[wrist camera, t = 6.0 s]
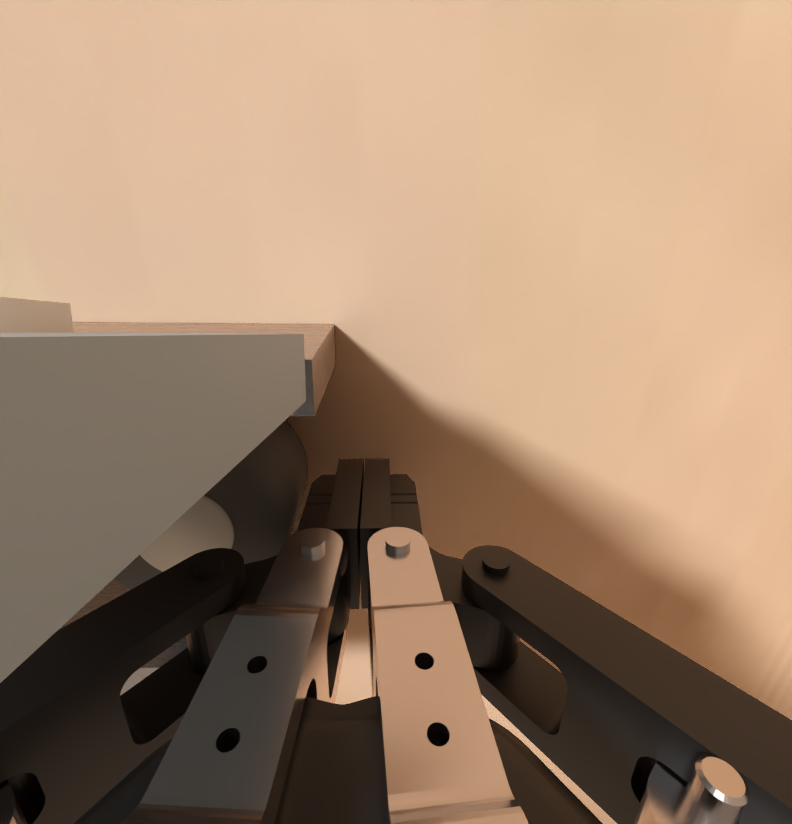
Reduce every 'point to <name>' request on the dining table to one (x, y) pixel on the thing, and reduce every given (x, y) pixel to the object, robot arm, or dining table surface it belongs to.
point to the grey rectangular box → (316, 379)
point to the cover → (115, 448)
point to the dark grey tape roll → (235, 511)
